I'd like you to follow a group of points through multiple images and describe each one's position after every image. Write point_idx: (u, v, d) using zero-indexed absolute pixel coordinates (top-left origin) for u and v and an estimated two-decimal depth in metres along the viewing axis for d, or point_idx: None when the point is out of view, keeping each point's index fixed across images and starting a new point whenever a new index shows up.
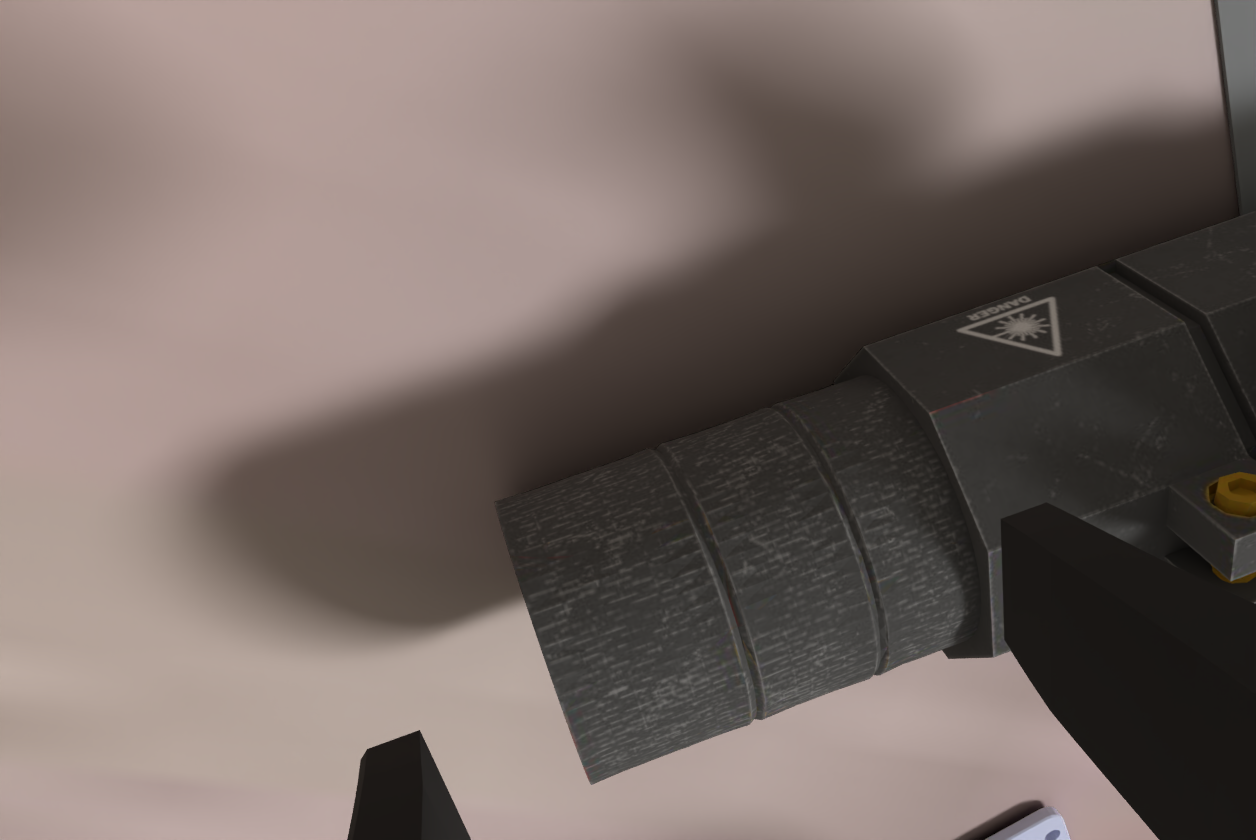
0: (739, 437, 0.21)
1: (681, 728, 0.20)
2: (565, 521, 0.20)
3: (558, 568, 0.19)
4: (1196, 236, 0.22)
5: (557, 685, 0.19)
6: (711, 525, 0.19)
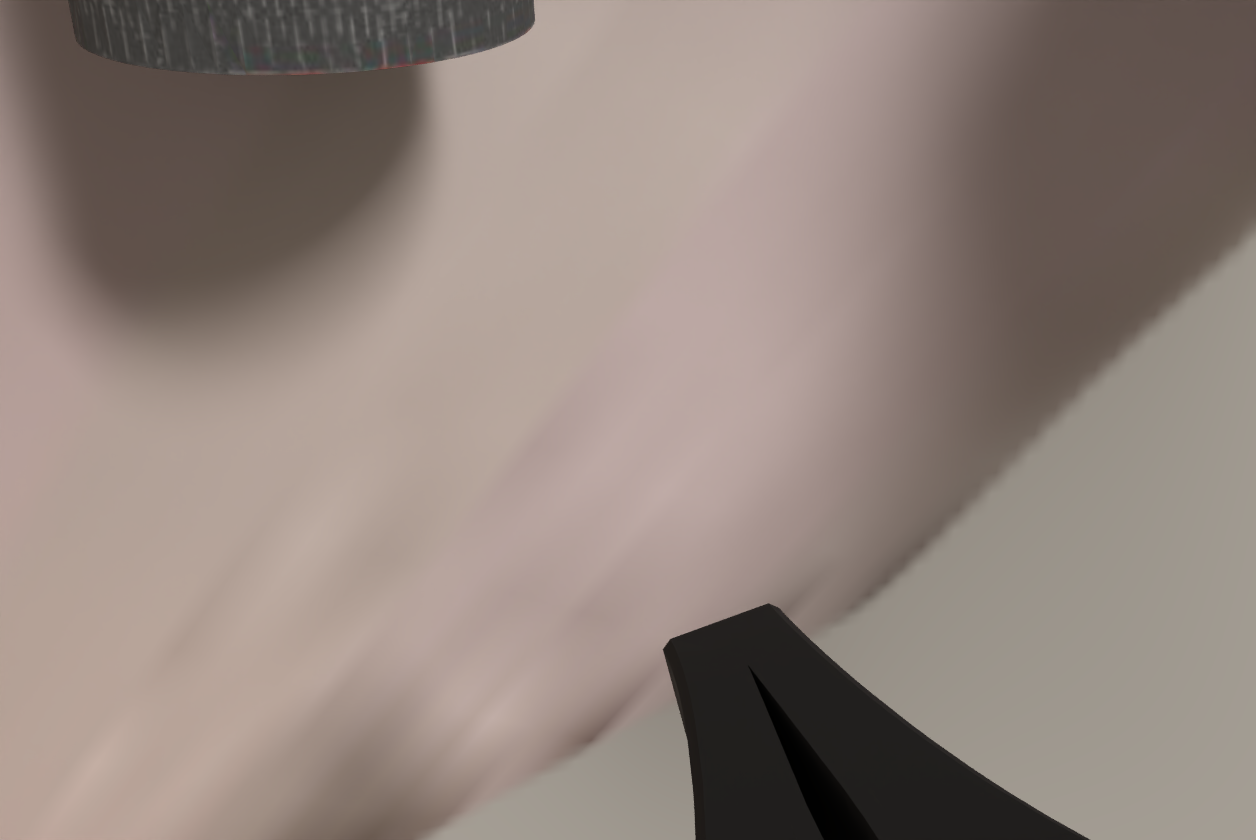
0: None
1: None
2: None
3: None
4: None
5: (198, 67, 0.12)
6: None
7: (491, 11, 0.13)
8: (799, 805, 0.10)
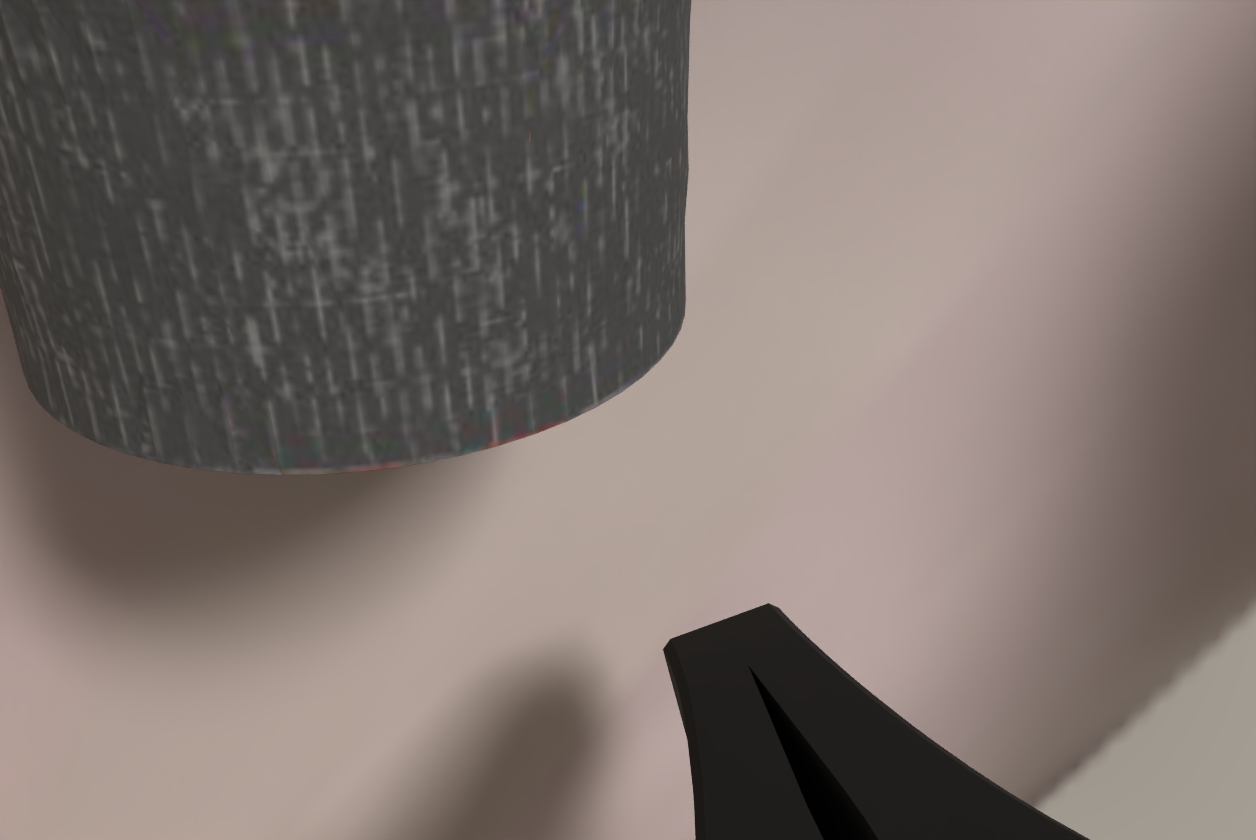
0: None
1: (465, 197, 0.07)
2: None
3: (14, 316, 0.08)
4: None
5: (205, 465, 0.08)
6: None
7: (644, 325, 0.09)
8: (799, 805, 0.10)
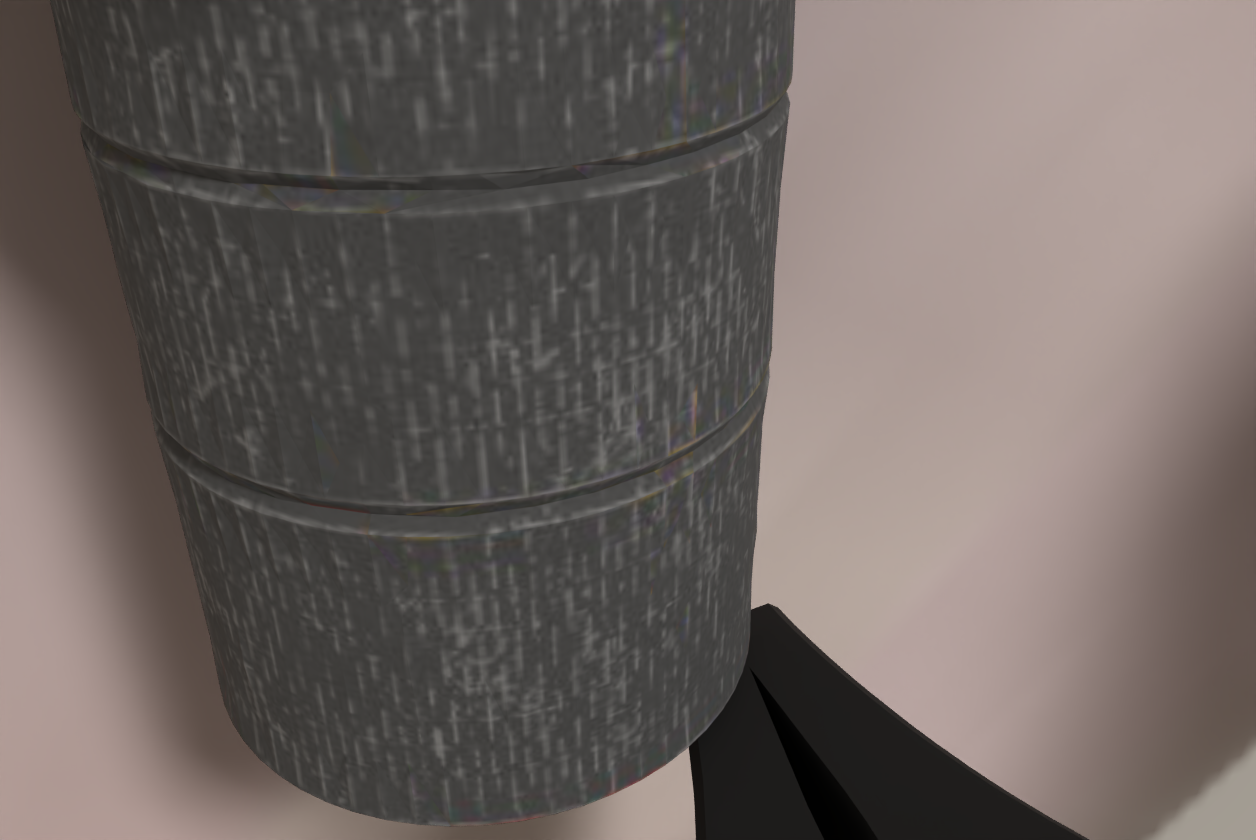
0: None
1: (601, 639, 0.09)
2: (200, 595, 0.11)
3: (232, 683, 0.10)
4: None
5: (391, 819, 0.10)
6: (180, 440, 0.09)
7: (724, 673, 0.11)
8: (800, 805, 0.10)
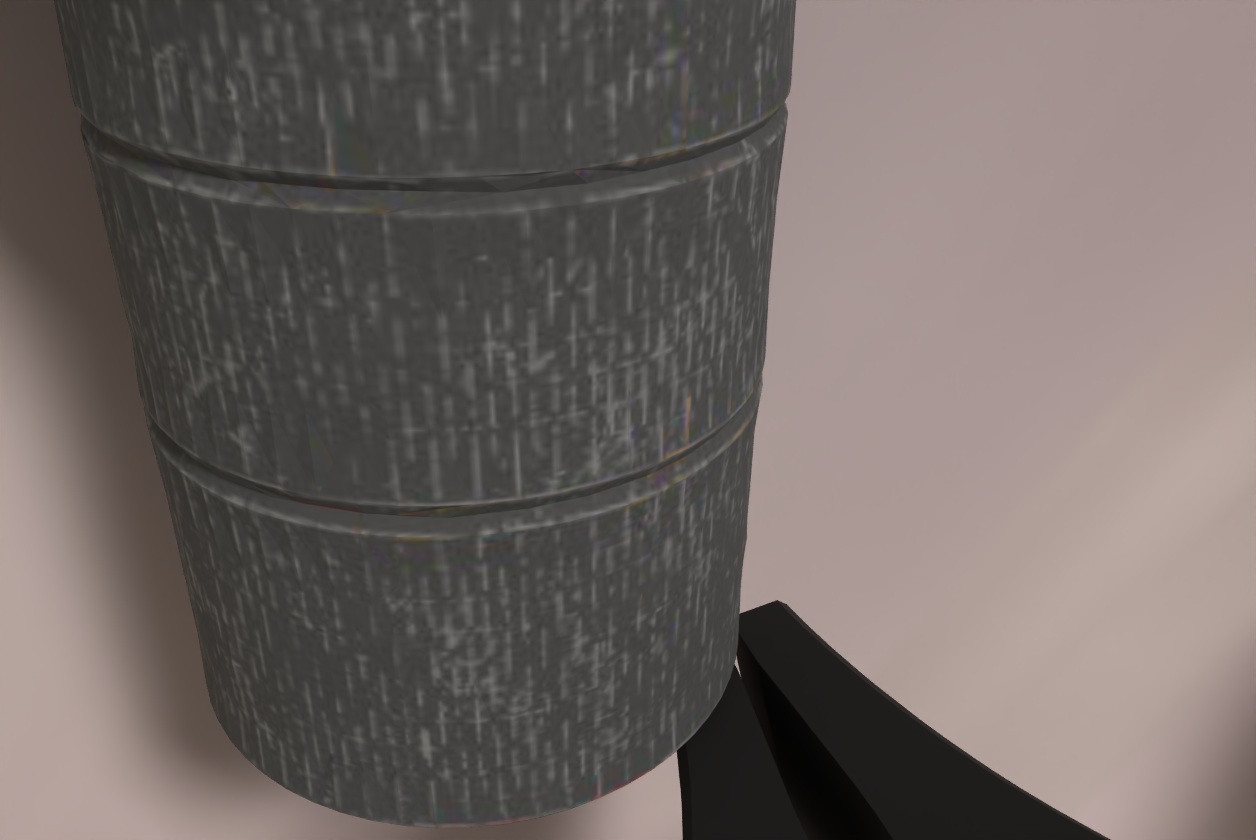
0: None
1: (590, 644, 0.09)
2: (189, 592, 0.11)
3: (220, 681, 0.10)
4: None
5: (376, 819, 0.10)
6: (172, 436, 0.09)
7: (712, 680, 0.11)
8: (786, 810, 0.10)
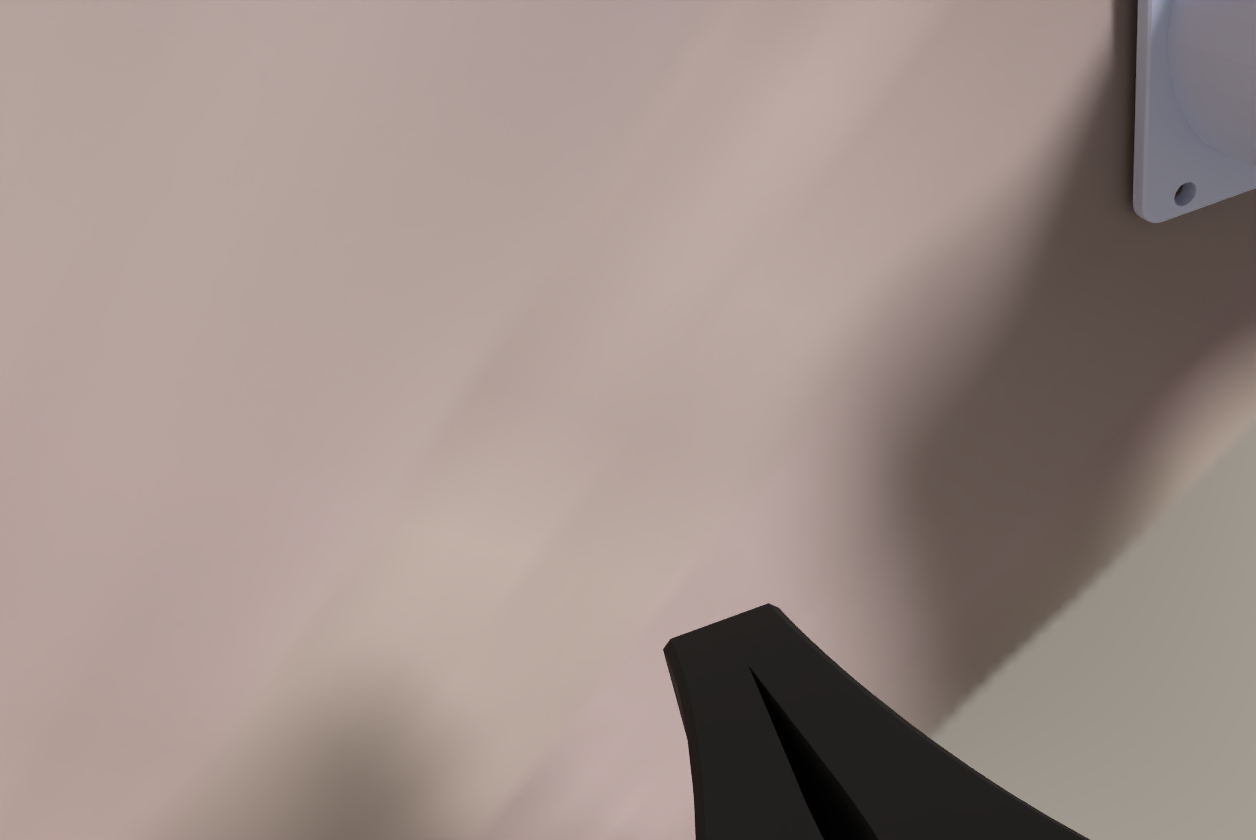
0: None
1: None
2: None
3: None
4: None
5: None
6: None
7: None
8: (800, 805, 0.10)
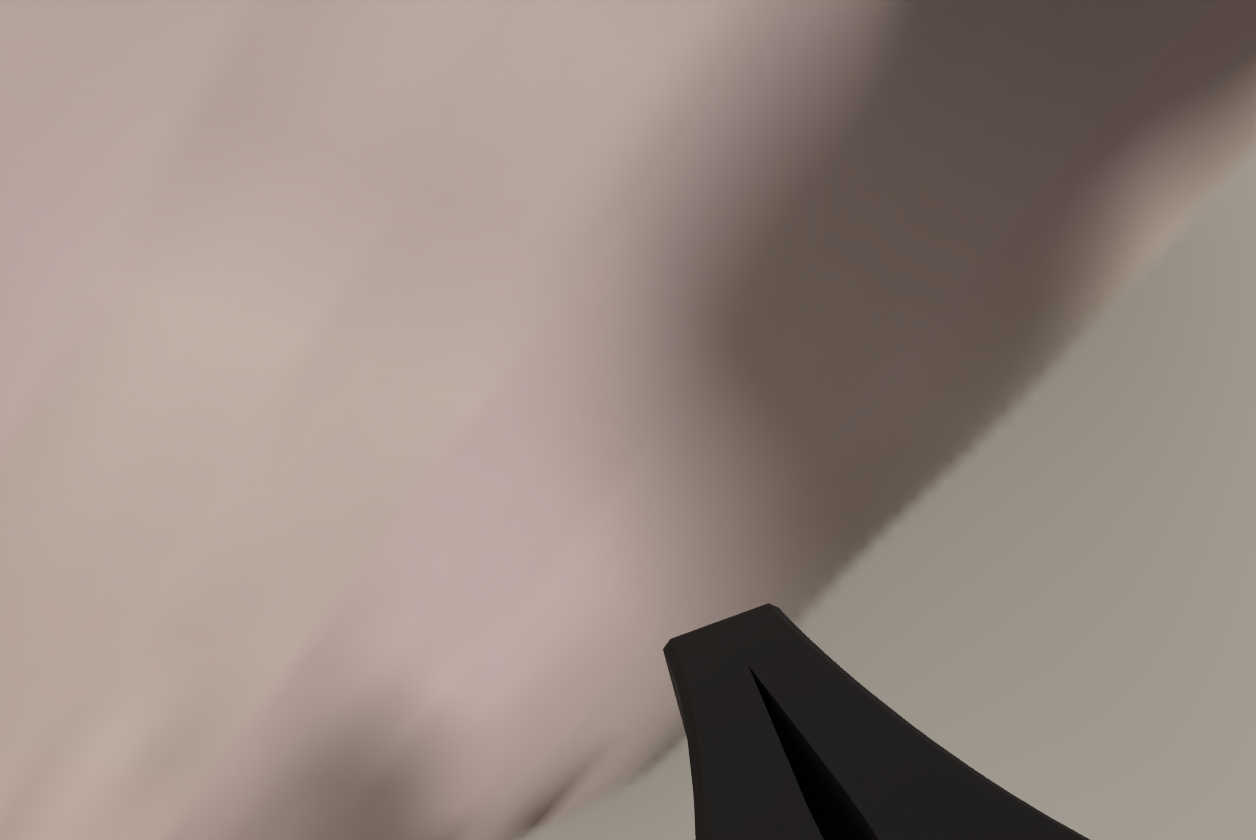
0: None
1: None
2: None
3: None
4: None
5: None
6: None
7: None
8: (799, 805, 0.10)
